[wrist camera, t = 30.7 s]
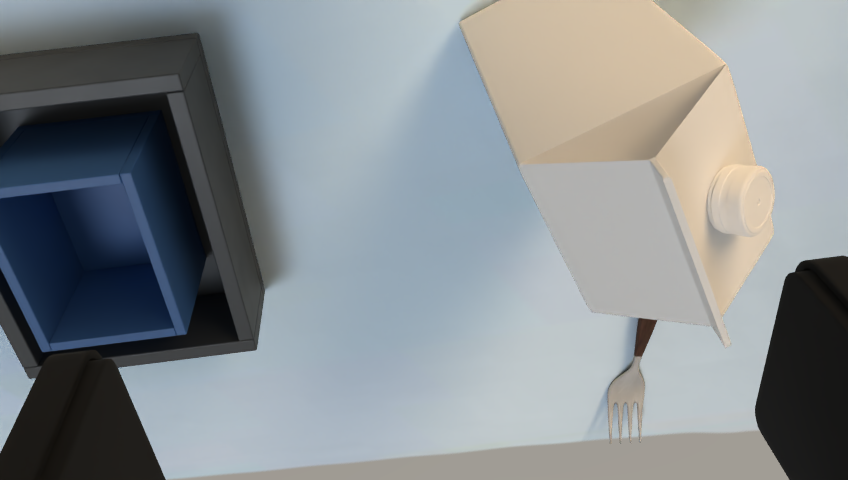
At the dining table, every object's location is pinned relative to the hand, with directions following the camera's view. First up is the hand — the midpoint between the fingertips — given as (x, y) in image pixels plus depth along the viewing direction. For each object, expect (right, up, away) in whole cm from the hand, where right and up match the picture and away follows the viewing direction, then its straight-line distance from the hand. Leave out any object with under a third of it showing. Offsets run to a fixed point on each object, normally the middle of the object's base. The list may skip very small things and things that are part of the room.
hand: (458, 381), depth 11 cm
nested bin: (-16, +4, +28) cm, 33 cm away
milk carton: (+6, +12, +27) cm, 30 cm away
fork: (+14, -4, +39) cm, 41 cm away
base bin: (-17, +5, +29) cm, 34 cm away
